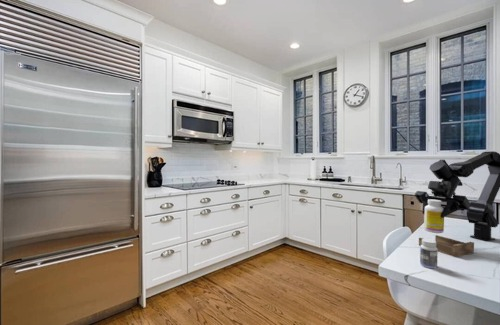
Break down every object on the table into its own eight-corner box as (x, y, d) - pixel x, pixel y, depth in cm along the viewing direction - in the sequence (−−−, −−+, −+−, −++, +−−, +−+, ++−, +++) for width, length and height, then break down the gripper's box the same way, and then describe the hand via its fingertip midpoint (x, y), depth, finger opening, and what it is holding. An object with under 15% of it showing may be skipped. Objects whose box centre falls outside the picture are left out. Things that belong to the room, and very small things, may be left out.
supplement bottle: (447, 234, 101) (448, 202, 101) (428, 233, 103) (429, 201, 102) (438, 229, 108) (439, 199, 107) (420, 228, 109) (422, 198, 109)
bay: (435, 241, 110) (435, 232, 110) (473, 253, 96) (474, 242, 96) (417, 244, 106) (417, 235, 106) (454, 256, 93) (454, 245, 93)
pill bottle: (416, 263, 87) (416, 238, 87) (429, 262, 88) (429, 238, 88) (427, 269, 83) (427, 243, 82) (441, 268, 83) (441, 242, 83)
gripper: (416, 173, 115) (401, 199, 110) (466, 175, 98) (450, 206, 93) (427, 189, 118) (412, 215, 114) (477, 194, 102) (461, 225, 97)
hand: (432, 215), depth 104 cm, fingers closed on supplement bottle, 7 cm apart
